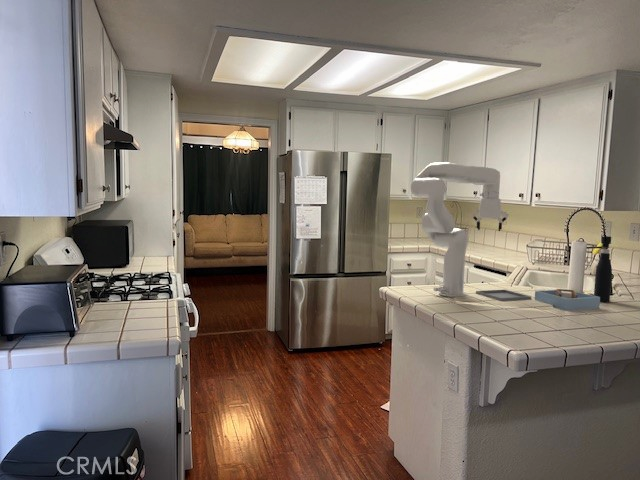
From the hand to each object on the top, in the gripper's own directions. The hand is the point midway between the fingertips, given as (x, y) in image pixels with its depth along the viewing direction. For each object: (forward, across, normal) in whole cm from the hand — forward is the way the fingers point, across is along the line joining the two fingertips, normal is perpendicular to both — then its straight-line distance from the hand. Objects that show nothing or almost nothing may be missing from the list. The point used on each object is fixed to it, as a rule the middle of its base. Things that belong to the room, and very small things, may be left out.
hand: (488, 230), depth 239 cm
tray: (+30, +8, -17) cm, 36 cm away
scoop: (+29, +34, -19) cm, 49 cm away
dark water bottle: (+31, +51, 0) cm, 59 cm away
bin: (+30, +34, -19) cm, 50 cm away
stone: (+29, +34, -18) cm, 48 cm away
